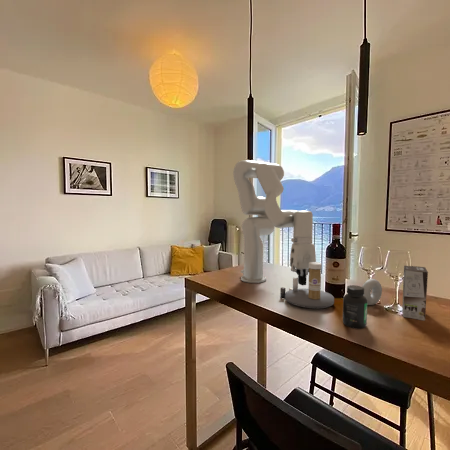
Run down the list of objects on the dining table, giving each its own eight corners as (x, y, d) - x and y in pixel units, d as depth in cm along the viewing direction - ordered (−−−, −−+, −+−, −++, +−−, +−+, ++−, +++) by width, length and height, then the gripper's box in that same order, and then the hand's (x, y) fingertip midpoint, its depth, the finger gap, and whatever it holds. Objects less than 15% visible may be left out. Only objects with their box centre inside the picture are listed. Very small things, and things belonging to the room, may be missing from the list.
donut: (366, 308, 100) (367, 281, 99) (358, 305, 103) (358, 279, 102) (383, 304, 105) (384, 278, 104) (375, 301, 108) (376, 276, 107)
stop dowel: (279, 297, 112) (279, 288, 112) (282, 296, 114) (282, 287, 113) (282, 299, 111) (283, 289, 110) (286, 298, 112) (286, 288, 112)
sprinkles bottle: (309, 299, 102) (310, 264, 101) (306, 295, 106) (307, 261, 105) (322, 300, 102) (323, 264, 100) (318, 295, 106) (319, 261, 105)
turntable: (344, 303, 103) (345, 285, 102) (307, 311, 95) (308, 293, 94) (306, 288, 120) (307, 273, 120) (273, 294, 113) (273, 279, 112)
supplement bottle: (371, 328, 84) (372, 290, 83) (351, 330, 83) (352, 291, 82) (357, 319, 91) (358, 283, 90) (338, 320, 90) (339, 284, 89)
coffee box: (425, 321, 89) (428, 272, 88) (402, 317, 93) (404, 269, 91) (423, 311, 97) (425, 266, 96) (401, 308, 100) (403, 264, 99)
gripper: (293, 242, 107) (292, 289, 108) (323, 240, 112) (322, 284, 114) (282, 240, 114) (281, 284, 115) (311, 238, 119) (310, 280, 121)
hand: (302, 284), depth 114 cm, fingers closed
